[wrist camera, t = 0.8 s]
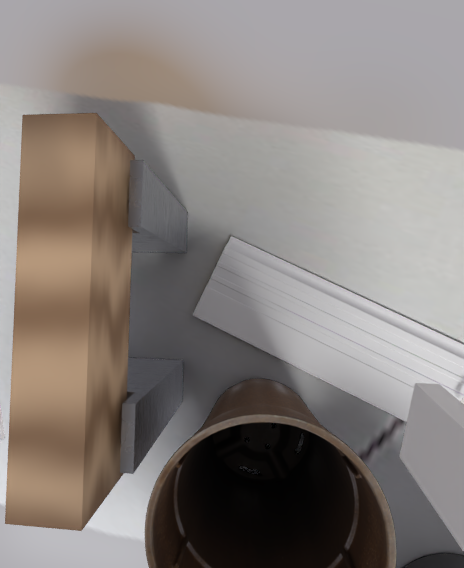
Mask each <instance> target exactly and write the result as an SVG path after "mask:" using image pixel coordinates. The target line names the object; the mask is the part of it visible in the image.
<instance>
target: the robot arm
mask: <svg viewBox="0 0 464 568" xmlns="http://www.w3.org/2000/svg"><path fill="white" fill-rule="evenodd" d="M4 438H5V434H4V427H3V419H2V412H1V405H0V442H1V441H2V440H3V439H4ZM399 457H400V459H401V460H402V462H403V463H404V465H405V466H406V468H407V469H408V471H409V472H410V474H411V475H412V477H413V478H414V480H415V481H416V483H417V484H418V486H419V487H420V488H421V490H422V491H423V493H424V494H425V496H426V497H427V499H428V500H429V502H430V503H431V505H432V506H433V508H434V509H435V511H436V512H437V514H438V515H439V516H440V518H441V519H442V521H443V522H444V524H445V525H446V527H447V528H448V530H449V531H450V533H451V534H452V536H453V537H454V539H455V540H456V542H457V543H458V544H459V546H460V547H461V549H462V550H463V552H464V404H463V403H461V402H460V401H459V400H458V399H457V398H455V397H454V396H453V395H452V394H451V393H449V392H448V391H447V390H446V389H445V388H443V387H442V386H441V385H440V384H427V383H415V385H414V390H413V394H412V399H411V404H410V408H409V413H408V418H407V422H406V427H405V432H404V436H403V441H402V446H401V450H400V455H399ZM404 568H464V556H462V555H457V554H435V555H429V556H426V557H423V558H420V559H418V560H415V561H414V562H412V563H410V564H408V565H407V566H406V567H404Z"/></svg>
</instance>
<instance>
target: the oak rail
mask: <svg viewBox="0 0 464 568" xmlns="http://www.w3.org/2000/svg"><path fill="white" fill-rule="evenodd" d="M130 160H135V156H134V155H133V153H132V152H131V151H130V150H129V149H128V148H127V147H126V146H125V144H124V143H123V142H122V141H121V140H120V139H119V138H118V137H117V135H116V134H115V133H114V132H113V131H112V130H111V129H110V128H109V126H108V125H107V124H106V123H105V122H104V121H103V120H102V119H101V117H100V116H99V115H98V114H97V113H78V114H40V115H23V119H22V143H21V166H20V189H19V212H18V236H17V259H16V282H15V305H14V329H13V352H12V375H11V399H10V422H9V445H8V468H7V492H6V515H5V524H14V525H24V526H36V527H46V528H57V529H68V530H78V531H81V530H82V529H83V528H84V527H85V525H86V524H87V523H88V521H89V520H90V518H91V517H92V516H93V514H94V513H95V512H96V510H97V509H98V508H99V506H100V505H101V503H102V502H103V501H104V499H105V498H106V497H107V495H108V494H109V493H110V491H111V490H112V489H113V487H114V486H115V484H116V483H117V482H118V480H119V479H120V478H121V476H122V475H123V474H124V473H120V456H121V426H122V403H123V402H124V401H126V400H127V376H128V345H129V315H130V284H131V253H132V229H131V228H130V227H128V214H129V184H130Z"/></svg>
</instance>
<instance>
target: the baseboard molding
mask: <svg viewBox="0 0 464 568" xmlns="http://www.w3.org/2000/svg"><path fill="white" fill-rule="evenodd" d="M193 316H195V317H197V318H199V319H201V320H203V321H205V322H207V323H209V324H211V325H213V326H215V327H217V328H219V329H221V330H223V331H225V332H227V333H229V334H231V335H233V336H235V337H237V338H239V339H241V340H243V341H245V342H247V343H249V344H251V345H253V346H255V347H257V348H259V349H261V350H263V351H265V352H267V353H269V354H271V355H273V356H275V357H277V358H279V359H281V360H283V361H285V362H287V363H289V364H291V365H293V366H295V367H297V368H299V369H301V370H303V371H305V372H307V373H309V374H311V375H313V376H315V377H317V378H319V379H321V380H323V381H325V382H327V383H329V384H331V385H333V386H335V387H337V388H339V389H341V390H343V391H345V392H347V393H349V394H351V395H353V396H355V397H357V398H359V399H361V400H363V401H365V402H367V403H369V404H371V405H373V406H375V407H377V408H379V409H381V410H383V411H385V412H387V413H389V414H391V415H393V416H395V417H397V418H399V419H401V420H403V421H405V422H407V418H408V413H409V408H410V404H411V399H412V394H413V390H414V385H415V383H427V384H440V385H441V386H442V387H443V388H445V389H446V390H447V391H448V392H449V393H451V394H452V395H453V396H454V397H455V398H457V399H458V400H459V401H460V402H461V401H462V400H463V398H464V345H463V344H461V343H459V342H457V341H455V340H453V339H451V338H448V337H446V336H444V335H442V334H440V333H438V332H436V331H434V330H431V329H429V328H427V327H425V326H423V325H421V324H419V323H416V322H414V321H412V320H410V319H408V318H406V317H404V316H401V315H399V314H397V313H395V312H393V311H391V310H389V309H386V308H384V307H382V306H380V305H378V304H376V303H374V302H371V301H369V300H367V299H365V298H363V297H361V296H359V295H356V294H354V293H352V292H350V291H348V290H346V289H344V288H342V287H339V286H337V285H335V284H333V283H331V282H329V281H327V280H324V279H322V278H320V277H318V276H316V275H314V274H312V273H309V272H307V271H305V270H303V269H301V268H299V267H297V266H294V265H292V264H290V263H288V262H286V261H284V260H282V259H279V258H277V257H275V256H273V255H271V254H269V253H267V252H264V251H262V250H260V249H258V248H256V247H254V246H252V245H249V244H247V243H245V242H243V241H241V240H239V239H237V238H235V237H232V236H231V237H230V239H229V242H228V243H227V245H226V246H225V248H224V250H223V252H222V255H221V257H220V259H219V261H218V263H217V265H216V267H215V269H214V271H213V273H212V275H211V277H210V280H209V282H208V284H207V286H206V288H205V290H204V292H203V294H202V296H201V298H200V300H199V302H198V304H197V306H196V308H195V311H194V313H193Z"/></svg>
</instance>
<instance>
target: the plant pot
mask: <svg viewBox="0 0 464 568" xmlns="http://www.w3.org/2000/svg"><path fill="white" fill-rule="evenodd" d="M272 423H276V425H277V427H276V428H272V427H271V424H272ZM301 433H303V434H304V442H303V445H302V449H301V451H300V453H299V454H296V453H295V450H296V448H297V445H298V442H299V439H300V435H301ZM245 437H249V438H250V441H249V442H245V441H244V438H245ZM266 444H270V448H269V449H266V448H265V445H266ZM239 466H245V467H247V468H248V469H255V470H259V472H260V474H259V475H255V474H251V473H248V472H245V471H243V470H241V469H239ZM145 548H146V556H147V561H148V565H149V568H395V566H396V536H395V529H394V523H393V519H392V515H391V512H390V508H389V505H388V503H387V500H386V498H385V496H384V493H383V491H382V489H381V487H380V486H379V484H378V482H377V480H376V479H375V477H374V476H373V474H372V473H371V471H370V470H369V468H368V467H367V466H366V465H365V463H364V462H363V461H362V460H361V459H360V458H359V457H358V455H357V454H356V453H355V452H354V451H353V450H352V449H351V448H350V447H349V446H347V445H346V444H345V443H344V442H343V441H341V440H340V439H339V438H337V437H336V436H335V435H333V434H332V433H330V432H329V431H328V430H327V429H325V428H324V427H323V426H322V425H320V423H319V422H318V421H317V420H316V418H315V417H314V416H313V414H312V413H311V412H310V410H309V409H308V408H307V406H306V405H305V403H304V402H303V401H302V399H301V398H300V397H299V396H298V395H297V394H296V393H295V392H294V391H293V390H291V389H290V388H288V387H287V386H285V385H283V384H281V383H279V382H276V381H272V380H268V379H249V380H245V381H242V382H240V383H238V384H236V385H234V386H233V387H231V388H229V389H228V390H226V391H225V392H224V393H223V394H222V395H221V396H220V398H219V399H218V400H217V402H216V404H215V406H214V407H213V409H212V411H211V413H210V414H209V416H208V418H207V420H206V421H205V423H204V424H203V426H202V428H200V429H199V430H198V431H197V432H196V433H195V434H194V436H193V437H191V438H190V439H189V440H187V441H186V442H185V443H184V444H183V445H182V446H181V447H180V448H179V449H178V450H177V451H176V452H175V453H174V454H173V456H172V457H171V458H170V460H169V461H168V462H167V464H166V465H165V467H164V468H163V470H162V472H161V473H160V475H159V477H158V479H157V481H156V483H155V486H154V488H153V491H152V493H151V497H150V500H149V504H148V508H147V513H146V520H145Z"/></svg>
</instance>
